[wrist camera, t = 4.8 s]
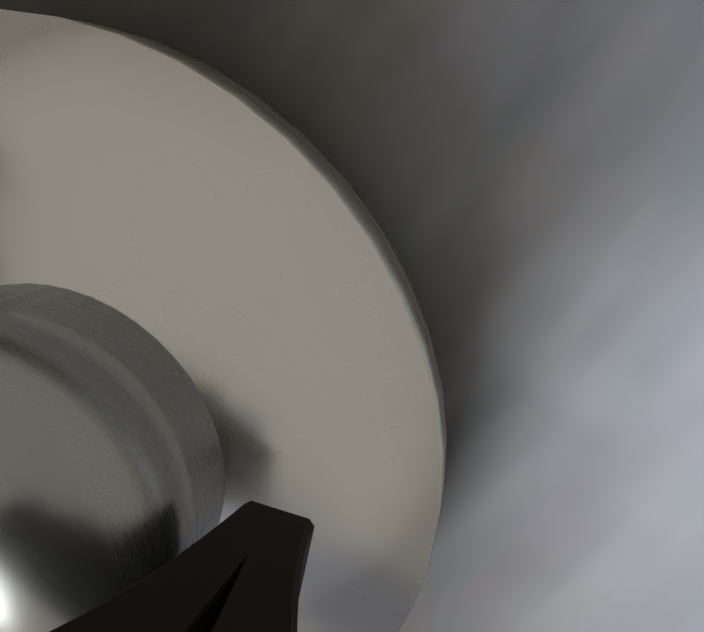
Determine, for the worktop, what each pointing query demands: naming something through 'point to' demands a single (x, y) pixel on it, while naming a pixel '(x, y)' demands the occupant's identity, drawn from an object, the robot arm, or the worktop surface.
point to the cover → (93, 456)
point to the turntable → (236, 292)
